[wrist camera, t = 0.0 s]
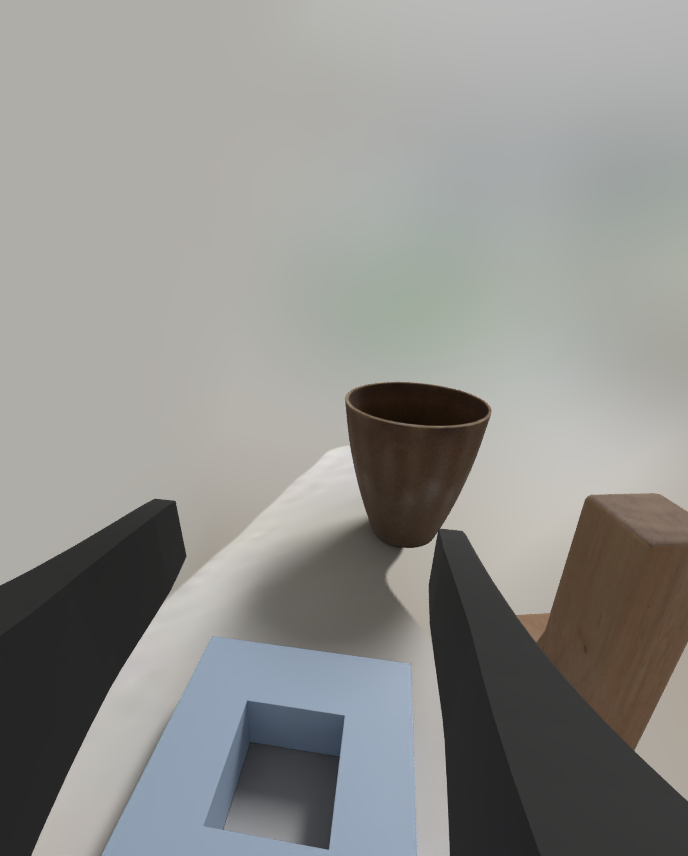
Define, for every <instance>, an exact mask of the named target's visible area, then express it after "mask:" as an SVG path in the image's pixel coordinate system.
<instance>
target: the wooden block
mask: <svg viewBox="0 0 688 856" xmlns="http://www.w3.org/2000/svg"><path fill="white" fill-rule="evenodd" d="M516 616H517V618H518V619H519V620H520V622H521V623H522V624H523V626H524V627H525V628H526V630H527V631H528V632H529V634H530V635H531V636H532V638H533V639H534V640H535V642H536V643H537V644H538V645H539V647H540V648H541V649H542V651H543V652H544V653H545V654H546V656H547V657H548V658H549V659H550V660H551V662H552V663H553V664H554V665H555V666H556V668H557V669H558V670H559V671H560V672H561V673H562V675H563V676H564V677H565V678H566V679H567V681H568V682H569V683H570V684H571V685H572V686H573V687H574V688H575V689H576V691H577V692H578V693H579V694H580V695H581V696H582V697H583V698H584V700H585V701H586V702H587V703H588V704H589V705H590V706H591V707H592V708H593V709H594V710H595V711H596V712H597V713H598V714H599V715H600V716H601V717H602V718H603V720H604V721H605V722H606V723H607V724H608V725H609V726H610V727H611V728H612V729H613V730H614V731H615V732H616V733H617V734H618V735H619V736H620V737H621V738H622V739H623V740H624V741H625V742H626V743H627V744H628V745H629V746H630V747H631V748H632V749H633V750H635V748H636V746H637V744H638V741H639V740H640V738H641V736H642V734H643V732H644V730H645V728H646V726H647V724H648V722H649V720H650V718H651V716H652V714H653V711H654V710H655V707H656V705H657V703H658V701H659V699H660V697H661V695H662V693H663V691H664V689H665V687H666V685H667V683H668V681H669V679H670V677H671V675H672V673H673V671H674V669H675V667H676V665H677V662H678V661H679V659H680V656H681V654H682V653H683V650H684V648H685V646H686V644H687V642H688V512H687V511H686V510H684V509H682V508H681V507H679V506H678V505H676V504H675V503H673V502H672V501H670V500H668V499H667V498H665V497H664V496H662V495H659V494H655V493H650V494H608V495H590V496H588V497H587V498H586V499H585V502H584V505H583V508H582V511H581V515H580V518H579V521H578V525H577V528H576V531H575V534H574V538H573V541H572V544H571V548H570V551H569V554H568V557H567V560H566V564H565V567H564V570H563V574H562V577H561V580H560V583H559V587H558V590H557V593H556V596H555V600H554V603H553V606H552V610H551V613H547V614H530V615H516Z"/></svg>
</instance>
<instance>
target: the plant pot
mask: <svg viewBox="0 0 688 856" xmlns="http://www.w3.org/2000/svg"><path fill="white" fill-rule="evenodd" d="M345 402H346V412H347V423H348V432H349V440H350V447H351V453H352V458H353V463H354V468H355V473H356V477H357V481H358V485H359V489H360V493H361V496H362V500H363V503H364V506H365V509H366V512H367V515H368V518H369V521H370V523H371V526H372V529H373V531H374V533H375V534H376V535H377V536H378V537H379V538H380V539H381V540H383V541H384V542H386V543H388V544H391V545H394V546H397V547H404V548H414V547H419V546H423V545H426V544H428V543H429V542H430V541H432V539H433V538H434V537H435V535H436V534H437V532H438V529H440V528H441V526H442V524H443V523H444V521H445V520H446V518H447V516H448V515H449V513H450V511H451V509H452V507H453V506H454V504H455V502H456V500H457V498H458V496H459V494H460V492H461V490H462V488H463V486H464V484H465V482H466V480H467V477H468V475H469V473H470V471H471V468H472V465H473V463H474V461H475V458H476V456H477V453H478V451H479V448H480V445H481V442H482V439H483V436H484V433H485V430H486V427H487V424H488V421H489V419H490V416H491V408H490V406H489V405H488V404H487V403H486V402H485V401H484V400H482V399H480V398H478V397H476V396H474V395H472V394H469V393H466V392H463V391H460V390H456V389H452V388H447V387H442V386H437V385H431V384H423V383H410V382H387V383H375V384H368V385H364V386H361V387H358V388H355V389H353V390H351V391H350V392H348V394H347V395H346V397H345Z"/></svg>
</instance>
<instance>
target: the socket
mask: <svg viewBox="0 0 688 856" xmlns="http://www.w3.org/2000/svg"><path fill="white" fill-rule="evenodd" d="M250 742H253V743H259V744H265V745H271V746H277V747H283V748H289V749H296V750H302V751H308V752H314V753H320V754H326V755H332V756H338V757H340V761H339V770H338V778H337V787H336V795H335V803H334V812H333V820H332V829H331V837H330V846H329V850H327V849H321V848H316V847H311V846H306V845H300V844H295V843H290V842H284V841H279V840H274V839H268V838H263V837H258V836H253V835H247V834H242V833H237V832H231V831H226V830H223V828H224V825H225V822H226V818H227V815H228V812H229V809H230V806H231V802H232V799H233V796H234V793H235V789H236V786H237V783H238V780H239V777H240V773H241V770H242V767H243V764H244V761H245V757H246V754H247V751H248V748H249V744H250ZM101 856H417V838H416V807H415V776H414V745H413V714H412V683H411V664H408V663H401V662H394V661H387V660H380V659H372V658H365V657H358V656H351V655H344V654H337V653H329V652H322V651H315V650H308V649H301V648H294V647H286V646H279V645H272V644H265V643H258V642H251V641H243V640H236V639H229V638H222V637H215V636H212V637H211V639H210V641H209V643H208V645H207V647H206V649H205V651H204V653H203V655H202V657H201V659H200V661H199V663H198V665H197V667H196V669H195V671H194V673H193V675H192V677H191V679H190V681H189V683H188V685H187V687H186V689H185V691H184V693H183V695H182V697H181V699H180V701H179V703H178V705H177V707H176V708H175V710H174V712H173V714H172V716H171V718H170V720H169V722H168V724H167V726H166V728H165V730H164V732H163V734H162V736H161V738H160V740H159V742H158V744H157V746H156V748H155V750H154V752H153V754H152V756H151V758H150V760H149V762H148V764H147V766H146V768H145V770H144V772H143V774H142V776H141V778H140V780H139V782H138V784H137V786H136V788H135V790H134V792H133V794H132V796H131V798H130V800H129V802H128V804H127V806H126V808H125V810H124V812H123V814H122V816H121V818H120V820H119V822H118V824H117V826H116V828H115V830H114V832H113V834H112V836H111V838H110V840H109V842H108V844H107V846H106V848H105V849H104V851H103V853H102V855H101Z"/></svg>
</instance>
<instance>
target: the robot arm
mask: <svg viewBox="0 0 688 856" xmlns="http://www.w3.org/2000/svg"><path fill="white" fill-rule="evenodd" d="M185 558H186V552H185V547H184V542H183V537H182V532H181V527H180V522H179V517H178V512H177V507H176V501H170V500H162V499H154V500H152V501H150V502H148V503H146V504H144V505H142V506H141V507H139V508H137V509H135V510H134V511H132V512H131V513H129V514H127V515H126V516H124V517H122V518H121V519H119V520H118V521H115V522H114V523H112V524H111V525H109V526H107V527H106V528H104V529H102V530H101V531H99V532H97V533H95V534H94V535H92V536H90V537H89V538H87V539H85V540H84V541H82V542H80V543H79V544H77V545H75V546H73V547H72V548H70V549H68V550H67V551H65V552H63V553H61V554H59V555H57V556H56V557H54V558H52V559H50V560H48V561H46V562H45V563H43V564H41V565H40V566H37V567H36V568H34V569H32V570H30V571H28V572H26V573H24V574H23V575H20V576H19V577H16V578H15V579H13V580H11V581H9V582H7V583H5V584H2V585H1V586H0V856H31V855H32V852H33V850H34V848H35V845H36V843H37V840H38V838H39V836H40V833H41V831H42V829H43V827H44V824H45V822H46V820H47V818H48V816H49V813H50V811H51V809H52V807H53V804H54V802H55V800H56V798H57V796H58V793H59V791H60V789H61V787H62V785H63V782H64V780H65V778H66V776H67V774H68V772H69V770H70V767H71V765H72V763H73V761H74V759H75V757H76V755H77V753H78V751H79V749H80V747H81V745H82V743H83V741H84V739H85V737H86V734H87V732H88V730H89V728H90V726H91V724H92V722H93V721H94V719H95V717H96V715H97V713H98V711H99V709H100V707H101V705H102V703H103V701H104V699H105V697H106V695H107V693H108V691H109V689H110V688H111V686H112V684H113V682H114V681H115V679H116V677H117V676H118V674H119V672H120V670H121V669H122V667H123V666H124V664H125V662H126V661H127V659H128V658H129V656H130V654H131V653H132V651H133V650H134V648H135V647H136V645H137V643H138V642H139V640H140V639H141V637H142V636H143V634H144V632H145V631H146V629H147V628H148V626H149V624H150V623H151V621H152V620H153V618H154V617H155V615H156V613H157V612H158V610H159V609H160V607H161V605H162V604H163V602H164V600H165V599H166V597H167V596H168V594H169V592H170V591H171V589H172V586H173V584H174V582H175V580H176V578H177V576H178V574H179V572H180V569H181V567H182V565H183V563H184V561H185ZM429 610H430V611H429V612H430V613H429V614H430V629H431V637H432V644H433V652H434V659H435V667H436V674H437V681H438V688H439V696H440V703H441V710H442V718H443V728H444V738H445V756H446V775H447V795H448V818H449V841H450V856H688V801H687V800H686V799H685V798H683V797H682V796H681V795H680V794H679V793H678V792H677V791H676V790H675V789H674V788H673V787H672V786H670V785H669V784H668V783H667V782H666V781H665V780H664V779H663V778H662V777H661V776H660V775H659V774H658V773H657V772H656V771H655V770H654V769H653V768H651V767H650V766H649V765H648V764H647V763H646V762H645V761H644V760H643V759H642V758H641V757H640V756H639V755H638V754H637V753H635V751H634V750H633V749H632V748H631V747H630V746H629V745H628V744H627V743H626V742H625V741H624V740H623V739H622V738H621V737H620V736H619V735H618V734H617V733H616V732H615V731H614V730H613V729H612V728H611V727H610V726H609V725H608V724H607V723H606V722H605V721H604V720H603V718H602V717H601V716H600V715H599V714H598V713H597V712H596V711H595V710H594V709H593V708H592V707H591V706H590V705H589V704H588V703H587V702H586V701H585V700H584V698H583V697H582V696H581V695H580V694H579V693H578V692H577V691H576V689H575V688H574V687H573V686H572V685H571V684H570V683H569V682H568V681H567V679H566V678H565V677H564V676H563V675H562V673H561V672H560V671H559V670H558V669H557V668H556V666H555V665H554V664H553V663H552V662H551V660H550V659H549V658H548V657H547V656H546V654H545V653H544V652H543V651H542V649H541V648H540V647H539V645H538V644H537V643H536V642H535V640H534V639H533V638H532V636H531V635H530V634H529V632H528V631H527V630H526V628H525V627H524V626H523V624H522V623H521V622H520V620H519V619H518V618H517V616H516V615H515V613H514V612H513V610H512V609H511V608H510V606H509V605H508V603H507V602H506V600H505V599H504V597H503V596H502V594H501V593H500V591H499V590H498V588H497V587H496V585H495V584H494V582H493V581H492V579H491V577H490V576H489V574H488V573H487V571H486V569H485V568H484V566H483V564H482V563H481V561H480V559H479V558H478V556H477V554H476V552H475V551H474V549H473V547H472V545H471V543H470V542H469V540H468V538H467V536H466V535H465V533H464V532H463V531H457V530H447V529H438V535H437V540H436V546H435V552H434V558H433V564H432V570H431V575H430V581H429Z"/></svg>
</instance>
